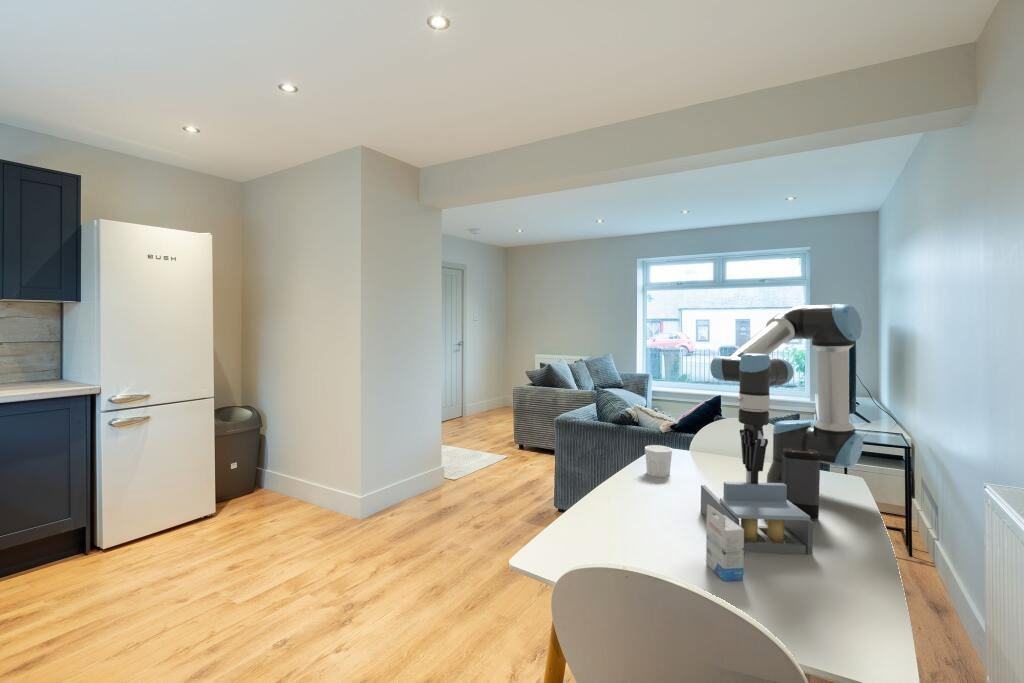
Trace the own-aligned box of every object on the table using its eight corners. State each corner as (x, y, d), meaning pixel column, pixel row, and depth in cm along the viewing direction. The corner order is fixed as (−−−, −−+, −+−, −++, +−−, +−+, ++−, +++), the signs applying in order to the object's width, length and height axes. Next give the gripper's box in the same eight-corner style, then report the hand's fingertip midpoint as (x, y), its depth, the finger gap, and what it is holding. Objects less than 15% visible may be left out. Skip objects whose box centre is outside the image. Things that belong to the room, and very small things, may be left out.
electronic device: (814, 514, 147) (816, 449, 147) (819, 522, 142) (821, 454, 141) (780, 510, 150) (781, 446, 150) (783, 517, 145) (785, 451, 144)
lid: (786, 502, 134) (787, 483, 134) (810, 520, 122) (810, 499, 122) (719, 501, 135) (720, 481, 135) (736, 518, 123) (737, 496, 123)
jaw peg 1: (753, 538, 130) (753, 513, 130) (759, 545, 127) (760, 519, 126) (738, 538, 131) (738, 512, 131) (744, 545, 127) (744, 518, 127)
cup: (675, 478, 182) (675, 451, 182) (648, 477, 182) (649, 451, 182) (667, 469, 192) (667, 445, 192) (641, 469, 192) (642, 445, 192)
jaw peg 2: (779, 540, 130) (780, 514, 130) (787, 546, 126) (787, 520, 126) (764, 539, 130) (764, 513, 130) (771, 546, 126) (771, 519, 126)
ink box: (744, 581, 109) (745, 516, 109) (723, 581, 109) (724, 517, 108) (724, 562, 118) (725, 502, 117) (705, 563, 117) (706, 503, 117)
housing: (764, 513, 148) (765, 486, 148) (812, 554, 122) (813, 522, 121) (700, 511, 150) (701, 485, 149) (733, 551, 123) (734, 519, 123)
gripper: (730, 405, 141) (729, 485, 142) (749, 413, 128) (747, 501, 129) (757, 405, 140) (755, 485, 141) (779, 413, 127) (776, 502, 128)
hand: (751, 493), depth 135 cm, fingers closed
